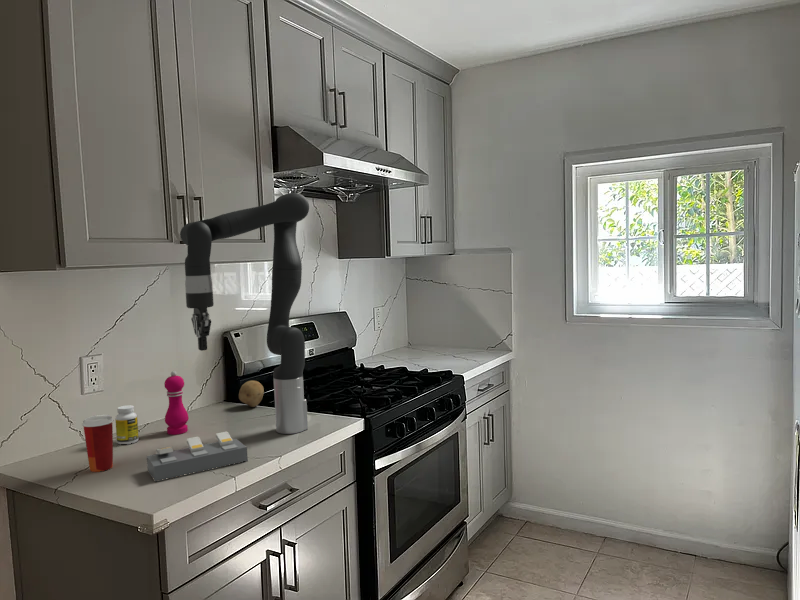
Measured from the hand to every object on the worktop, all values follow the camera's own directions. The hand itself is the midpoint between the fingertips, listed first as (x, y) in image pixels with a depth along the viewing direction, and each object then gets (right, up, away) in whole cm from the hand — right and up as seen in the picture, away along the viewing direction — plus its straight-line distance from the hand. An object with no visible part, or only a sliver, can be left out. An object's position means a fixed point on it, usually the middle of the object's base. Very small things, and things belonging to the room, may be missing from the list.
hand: (202, 350), depth 179 cm
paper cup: (-23, -31, -13) cm, 41 cm away
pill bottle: (-26, -30, +10) cm, 41 cm away
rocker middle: (+2, -25, -13) cm, 28 cm away
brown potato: (+3, -25, +47) cm, 54 cm away
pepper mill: (-14, -28, +19) cm, 37 cm away
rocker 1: (-5, -25, -17) cm, 31 cm away
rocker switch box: (+3, -30, -14) cm, 33 cm away
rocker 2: (+9, -24, -8) cm, 27 cm away
